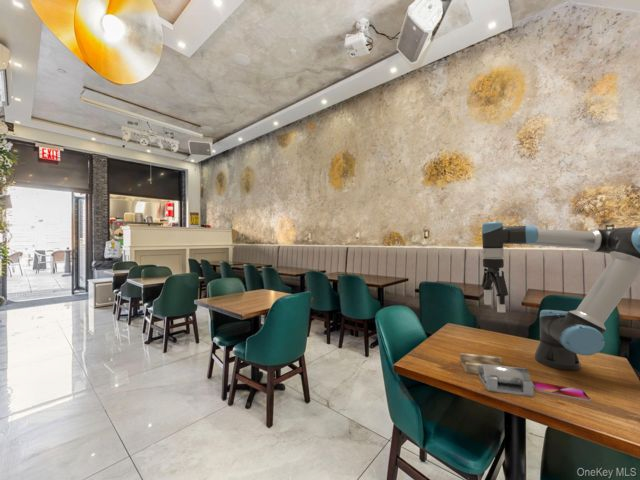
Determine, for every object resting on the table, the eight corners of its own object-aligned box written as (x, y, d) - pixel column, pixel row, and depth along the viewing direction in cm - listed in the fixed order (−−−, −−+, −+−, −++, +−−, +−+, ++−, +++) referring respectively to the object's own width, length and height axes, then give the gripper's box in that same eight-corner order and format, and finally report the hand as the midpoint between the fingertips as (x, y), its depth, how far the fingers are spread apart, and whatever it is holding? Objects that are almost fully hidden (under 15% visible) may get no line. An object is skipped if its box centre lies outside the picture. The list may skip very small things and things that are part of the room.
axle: (523, 383, 103) (522, 366, 104) (531, 388, 97) (529, 370, 98) (481, 378, 106) (480, 362, 107) (487, 383, 100) (485, 365, 102)
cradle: (519, 380, 106) (519, 369, 106) (533, 396, 95) (533, 383, 95) (478, 376, 109) (478, 364, 109) (487, 390, 99) (488, 378, 99)
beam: (500, 366, 119) (500, 357, 119) (511, 379, 108) (511, 369, 108) (459, 361, 123) (459, 352, 123) (466, 373, 112) (466, 364, 112)
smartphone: (531, 380, 105) (582, 389, 98) (531, 383, 105) (582, 392, 98) (536, 390, 98) (591, 400, 92) (536, 392, 98) (592, 403, 92)
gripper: (473, 256, 130) (474, 301, 130) (495, 260, 105) (497, 315, 105) (490, 256, 128) (491, 301, 128) (517, 260, 104) (519, 316, 104)
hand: (494, 308), depth 117 cm, fingers open, 13 cm apart
